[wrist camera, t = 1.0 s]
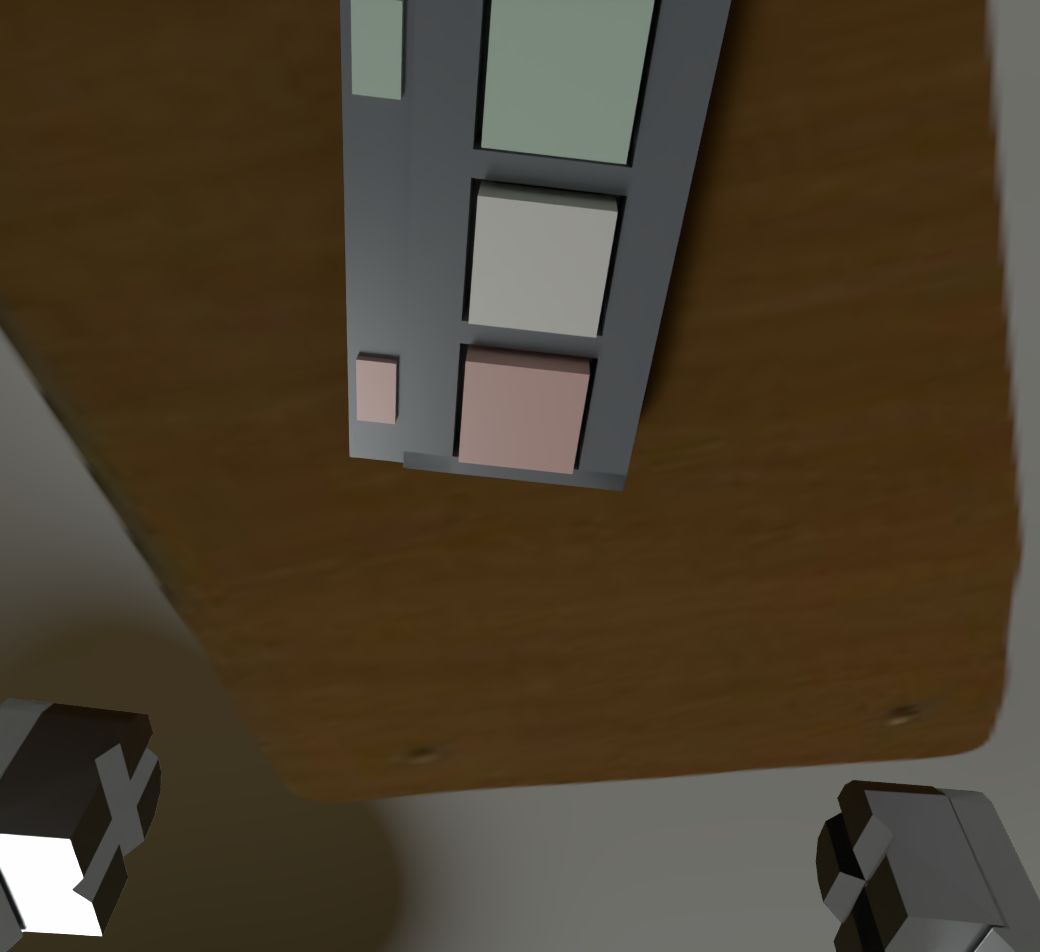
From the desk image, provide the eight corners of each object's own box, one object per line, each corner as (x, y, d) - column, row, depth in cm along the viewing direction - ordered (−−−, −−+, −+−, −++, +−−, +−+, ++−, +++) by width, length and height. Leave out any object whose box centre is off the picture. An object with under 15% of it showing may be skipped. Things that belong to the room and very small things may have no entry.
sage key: (496, -27, 33) (493, -20, 31) (649, -8, 33) (654, -1, 32) (484, 134, 37) (481, 147, 35) (623, 150, 37) (625, 164, 35)
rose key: (469, 341, 43) (465, 361, 41) (588, 355, 43) (589, 374, 41) (462, 440, 46) (458, 462, 44) (572, 452, 46) (572, 474, 45)
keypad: (358, -97, 35) (335, -91, 31) (721, -52, 35) (740, -40, 32) (363, 417, 50) (347, 461, 46) (618, 444, 50) (623, 491, 46)
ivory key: (481, 181, 38) (477, 195, 36) (615, 196, 38) (617, 211, 36) (472, 305, 41) (468, 323, 40) (594, 318, 42) (596, 337, 40)
